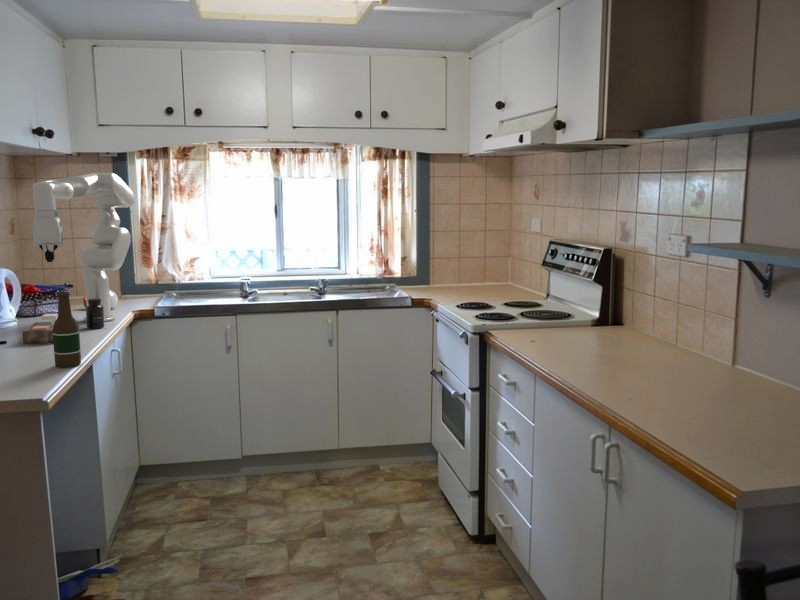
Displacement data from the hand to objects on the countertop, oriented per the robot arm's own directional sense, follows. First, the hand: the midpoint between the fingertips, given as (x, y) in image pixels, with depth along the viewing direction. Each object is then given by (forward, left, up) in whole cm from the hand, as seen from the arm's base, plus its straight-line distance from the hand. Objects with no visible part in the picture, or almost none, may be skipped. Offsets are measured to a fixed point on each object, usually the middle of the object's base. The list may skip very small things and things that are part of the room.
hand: (50, 261), depth 278 cm
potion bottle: (-56, +8, -29) cm, 64 cm away
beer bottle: (+59, +18, -29) cm, 68 cm away
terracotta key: (+19, 0, -26) cm, 32 cm away
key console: (+12, 0, -28) cm, 31 cm away
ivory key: (+5, 0, -24) cm, 25 cm away
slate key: (+12, 0, -25) cm, 28 cm away
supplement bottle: (-7, +14, -29) cm, 33 cm away
